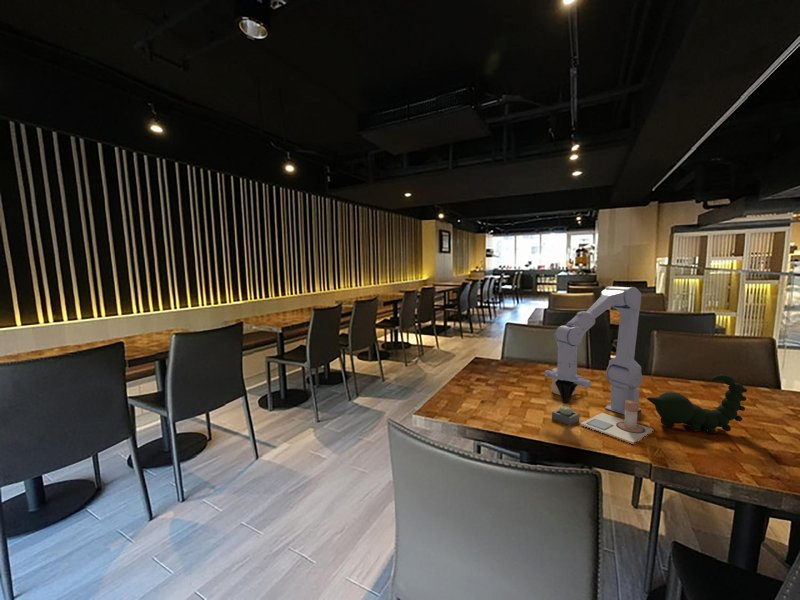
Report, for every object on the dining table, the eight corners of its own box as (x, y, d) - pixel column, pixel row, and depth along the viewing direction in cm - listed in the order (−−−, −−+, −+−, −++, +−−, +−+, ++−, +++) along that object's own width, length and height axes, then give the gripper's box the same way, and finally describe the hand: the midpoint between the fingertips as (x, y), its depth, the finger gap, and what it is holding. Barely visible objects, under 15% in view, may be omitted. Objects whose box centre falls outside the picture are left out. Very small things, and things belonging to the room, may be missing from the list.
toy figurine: (723, 430, 109) (636, 416, 114) (734, 372, 107) (644, 361, 112) (746, 445, 100) (650, 429, 105) (758, 382, 98) (659, 370, 103)
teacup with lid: (557, 396, 135) (558, 367, 134) (547, 389, 144) (547, 361, 143) (587, 396, 135) (588, 367, 134) (575, 388, 144) (576, 361, 143)
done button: (563, 411, 116) (563, 405, 116) (573, 414, 113) (574, 409, 113) (557, 413, 114) (557, 408, 114) (567, 417, 111) (568, 411, 111)
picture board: (602, 414, 117) (602, 412, 117) (653, 431, 105) (653, 428, 105) (580, 425, 110) (580, 422, 110) (632, 445, 97) (632, 441, 97)
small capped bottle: (626, 423, 108) (628, 399, 108) (639, 427, 106) (640, 402, 105) (621, 426, 107) (623, 401, 106) (634, 430, 104) (635, 405, 103)
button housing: (561, 414, 118) (562, 407, 118) (579, 421, 113) (579, 413, 113) (551, 419, 115) (552, 412, 114) (569, 425, 110) (569, 418, 109)
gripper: (540, 359, 116) (538, 398, 117) (582, 369, 104) (581, 412, 105) (552, 356, 120) (550, 394, 121) (594, 365, 108) (593, 407, 109)
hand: (565, 402), depth 113 cm, fingers closed
